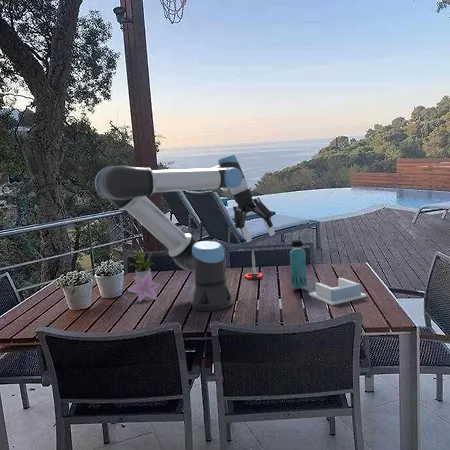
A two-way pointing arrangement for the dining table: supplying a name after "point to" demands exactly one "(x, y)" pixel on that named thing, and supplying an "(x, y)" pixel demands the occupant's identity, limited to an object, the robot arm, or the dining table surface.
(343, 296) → the stop cradle
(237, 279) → the dining table surface
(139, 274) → the house plant
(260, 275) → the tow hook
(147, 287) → the lily
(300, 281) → the beverage bottle
